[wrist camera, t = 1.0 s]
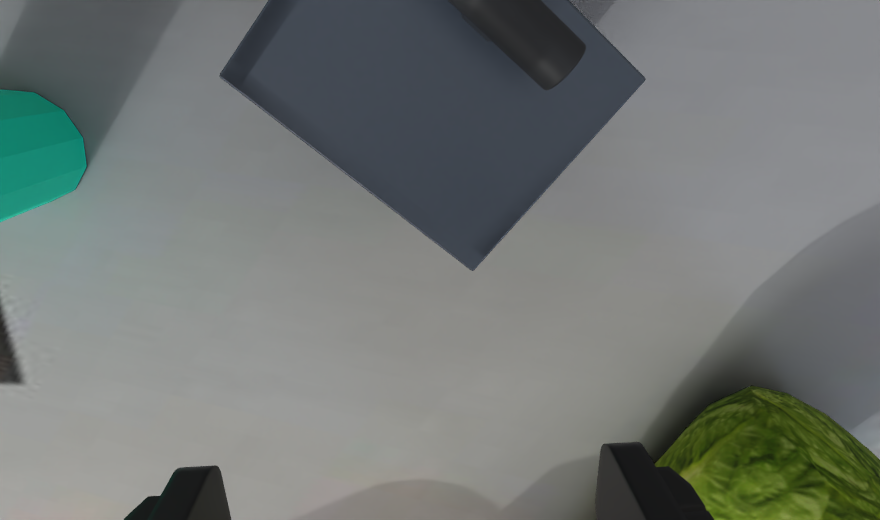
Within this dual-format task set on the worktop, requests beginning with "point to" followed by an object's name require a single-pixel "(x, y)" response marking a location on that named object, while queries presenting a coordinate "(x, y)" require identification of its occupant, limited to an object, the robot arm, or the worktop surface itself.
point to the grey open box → (438, 101)
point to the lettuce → (775, 461)
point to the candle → (36, 153)
